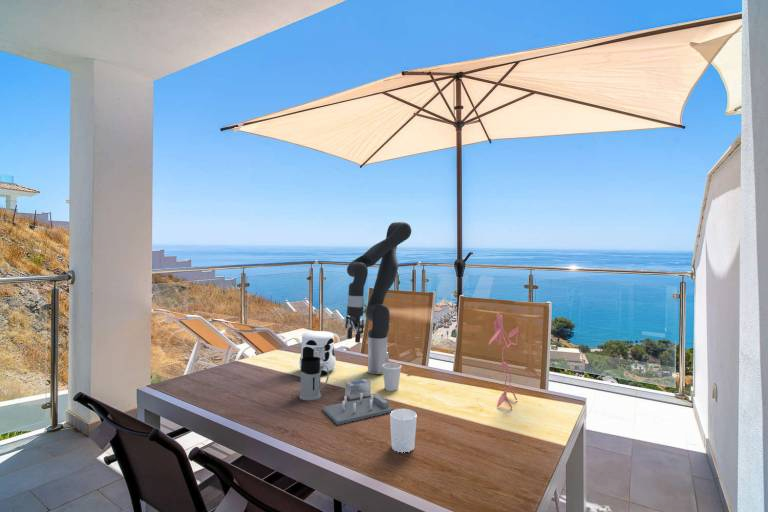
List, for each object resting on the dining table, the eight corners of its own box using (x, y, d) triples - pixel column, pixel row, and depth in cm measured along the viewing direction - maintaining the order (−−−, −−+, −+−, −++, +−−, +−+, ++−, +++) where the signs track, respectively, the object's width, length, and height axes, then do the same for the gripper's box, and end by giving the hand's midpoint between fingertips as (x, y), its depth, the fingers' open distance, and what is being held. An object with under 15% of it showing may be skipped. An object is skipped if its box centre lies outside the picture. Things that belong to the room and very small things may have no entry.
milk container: (317, 364, 199) (318, 329, 198) (342, 370, 188) (343, 333, 188) (291, 372, 185) (292, 335, 184) (317, 379, 174) (317, 340, 174)
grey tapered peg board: (374, 399, 151) (375, 387, 151) (393, 412, 139) (393, 399, 139) (322, 410, 140) (322, 397, 140) (337, 425, 128) (337, 411, 128)
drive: (365, 392, 160) (365, 378, 160) (370, 395, 155) (370, 382, 155) (345, 395, 155) (345, 382, 155) (350, 399, 151) (350, 385, 151)
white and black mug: (310, 390, 160) (311, 354, 160) (335, 398, 152) (336, 360, 152) (294, 397, 153) (294, 359, 153) (320, 405, 145) (320, 365, 145)
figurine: (524, 394, 158) (523, 309, 158) (509, 417, 135) (508, 318, 136) (487, 388, 165) (486, 307, 166) (467, 409, 143) (466, 315, 144)
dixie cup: (390, 393, 157) (391, 369, 157) (377, 388, 164) (378, 365, 164) (405, 389, 163) (405, 365, 163) (392, 384, 169) (392, 361, 169)
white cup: (388, 441, 117) (388, 408, 117) (413, 440, 118) (414, 408, 118) (391, 454, 109) (391, 420, 109) (418, 454, 110) (418, 419, 110)
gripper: (369, 307, 173) (367, 343, 172) (355, 303, 185) (354, 337, 185) (354, 307, 169) (352, 344, 169) (341, 303, 181) (339, 337, 181)
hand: (353, 340), depth 177 cm, fingers open, 8 cm apart
